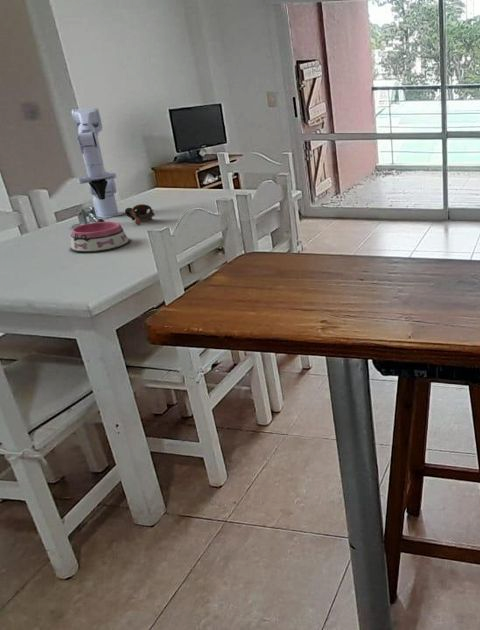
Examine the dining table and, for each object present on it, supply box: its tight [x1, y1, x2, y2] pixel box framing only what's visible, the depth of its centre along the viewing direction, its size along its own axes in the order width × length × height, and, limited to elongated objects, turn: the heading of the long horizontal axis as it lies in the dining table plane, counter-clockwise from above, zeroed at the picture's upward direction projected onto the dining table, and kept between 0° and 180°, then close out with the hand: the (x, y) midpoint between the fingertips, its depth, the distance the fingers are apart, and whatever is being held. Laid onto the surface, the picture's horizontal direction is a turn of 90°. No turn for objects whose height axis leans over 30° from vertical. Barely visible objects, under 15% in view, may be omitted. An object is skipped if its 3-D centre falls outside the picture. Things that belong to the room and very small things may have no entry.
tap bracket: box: [71, 205, 97, 229], centre depth 228 cm, size 10×9×8 cm
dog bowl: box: [70, 221, 130, 254], centre depth 204 cm, size 18×19×7 cm
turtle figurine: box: [124, 203, 156, 226], centre depth 234 cm, size 12×10×8 cm
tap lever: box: [82, 207, 106, 222], centre depth 226 cm, size 13×3×3 cm, turn 56°
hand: (102, 199), depth 229 cm, fingers closed
